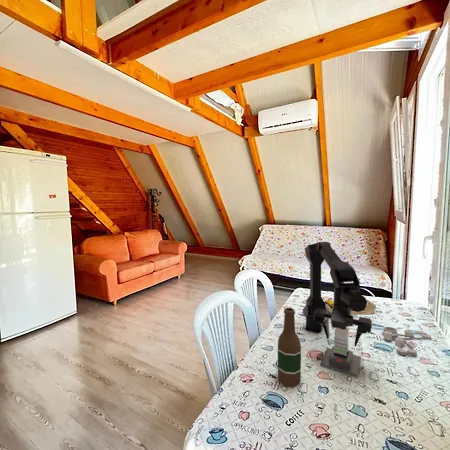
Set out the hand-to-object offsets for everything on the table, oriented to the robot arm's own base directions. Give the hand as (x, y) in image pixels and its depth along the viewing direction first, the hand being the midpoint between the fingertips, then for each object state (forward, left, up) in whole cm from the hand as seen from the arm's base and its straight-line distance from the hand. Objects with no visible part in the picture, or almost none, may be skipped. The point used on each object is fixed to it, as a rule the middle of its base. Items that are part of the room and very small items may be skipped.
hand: (341, 342), depth 95 cm
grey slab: (0, 0, -4) cm, 4 cm away
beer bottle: (-13, -19, -8) cm, 24 cm away
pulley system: (+20, +30, -8) cm, 37 cm away
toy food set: (-7, +55, -8) cm, 56 cm away
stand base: (0, 0, -8) cm, 8 cm away
